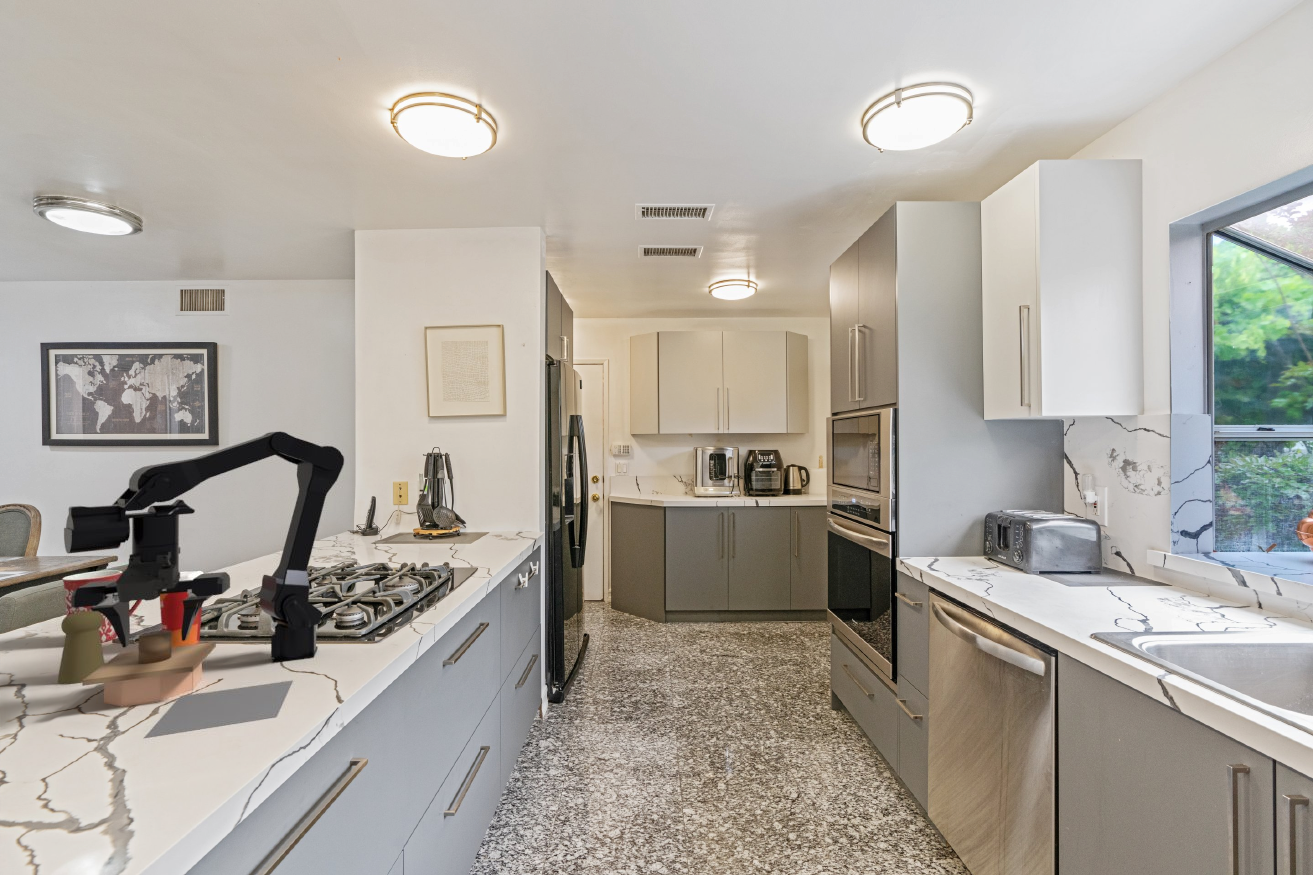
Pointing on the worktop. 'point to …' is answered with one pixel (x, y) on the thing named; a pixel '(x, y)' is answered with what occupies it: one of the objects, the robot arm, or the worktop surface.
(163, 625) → the paper cup
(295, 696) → the worktop surface
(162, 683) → the bowl
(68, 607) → the mug
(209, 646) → the lid
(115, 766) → the worktop surface
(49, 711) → the worktop surface
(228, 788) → the worktop surface
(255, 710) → the mat
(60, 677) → the olive pepper mill
